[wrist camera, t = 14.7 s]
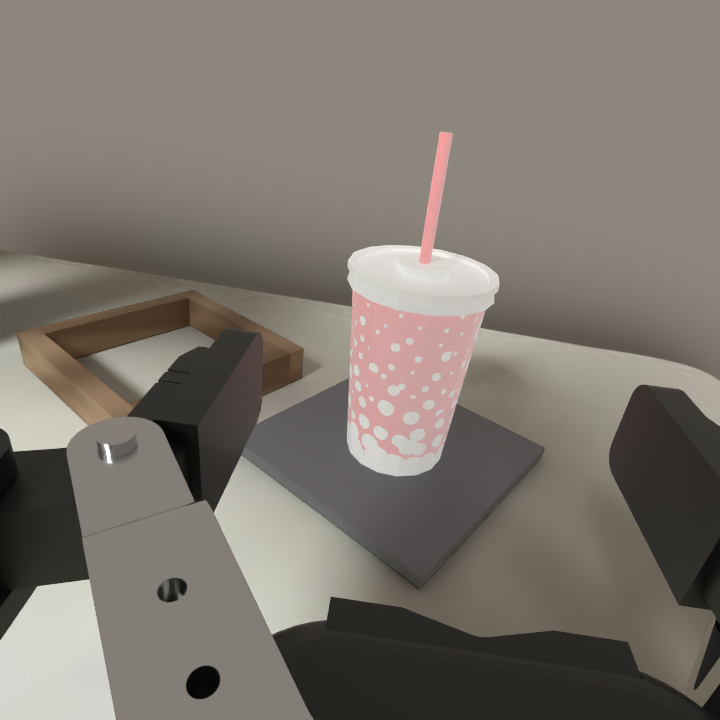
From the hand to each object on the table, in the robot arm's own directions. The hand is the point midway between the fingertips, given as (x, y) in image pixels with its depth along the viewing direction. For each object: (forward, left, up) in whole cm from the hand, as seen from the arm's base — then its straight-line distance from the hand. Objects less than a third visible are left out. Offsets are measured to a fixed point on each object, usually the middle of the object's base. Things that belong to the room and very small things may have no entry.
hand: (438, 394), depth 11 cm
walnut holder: (-20, +5, -10) cm, 23 cm away
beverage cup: (-6, +9, -10) cm, 14 cm away
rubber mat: (-6, +9, -10) cm, 15 cm away
